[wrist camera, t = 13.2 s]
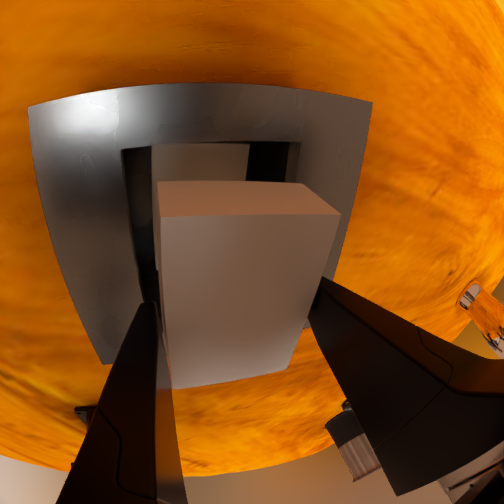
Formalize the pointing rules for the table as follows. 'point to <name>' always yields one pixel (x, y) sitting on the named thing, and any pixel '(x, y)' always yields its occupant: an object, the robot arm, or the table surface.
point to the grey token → (237, 274)
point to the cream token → (196, 166)
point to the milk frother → (353, 444)
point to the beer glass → (484, 314)
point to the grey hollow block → (139, 176)
